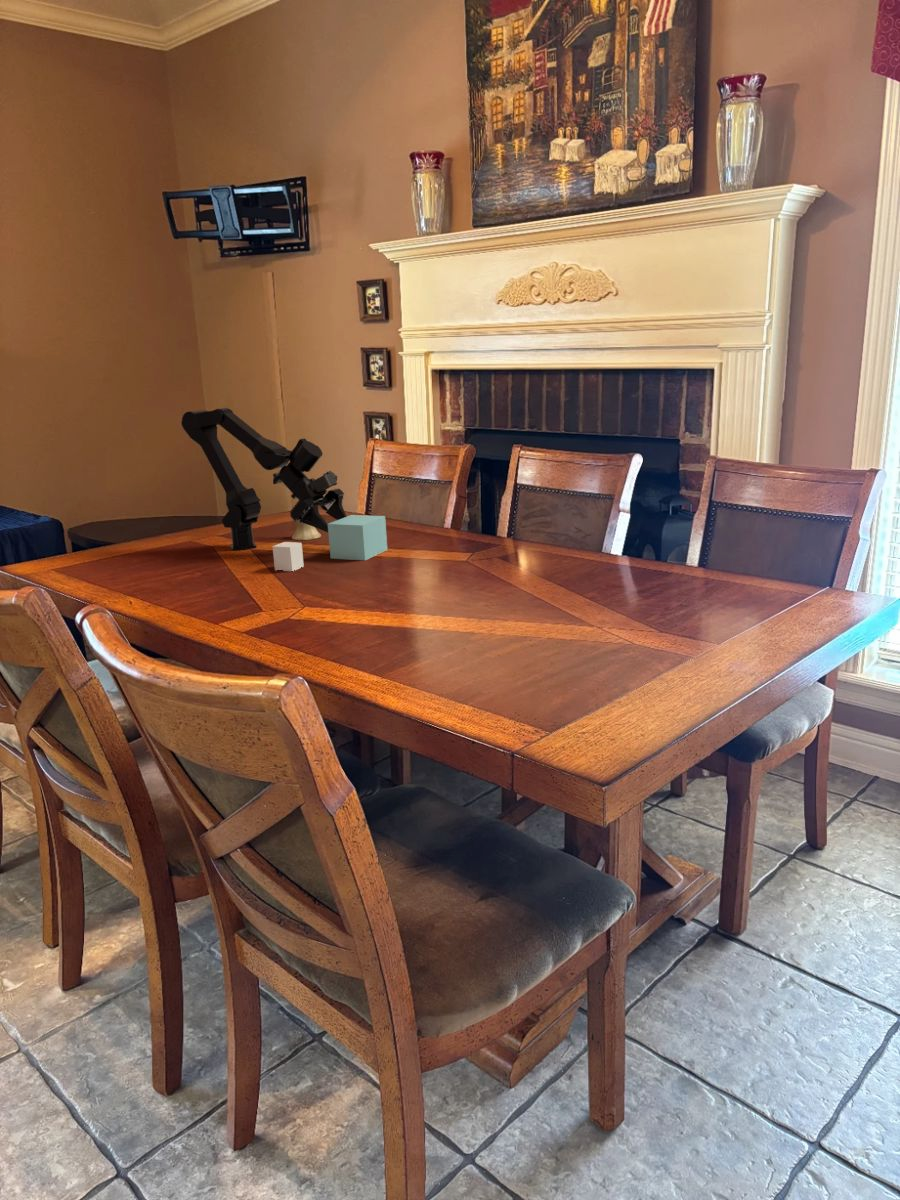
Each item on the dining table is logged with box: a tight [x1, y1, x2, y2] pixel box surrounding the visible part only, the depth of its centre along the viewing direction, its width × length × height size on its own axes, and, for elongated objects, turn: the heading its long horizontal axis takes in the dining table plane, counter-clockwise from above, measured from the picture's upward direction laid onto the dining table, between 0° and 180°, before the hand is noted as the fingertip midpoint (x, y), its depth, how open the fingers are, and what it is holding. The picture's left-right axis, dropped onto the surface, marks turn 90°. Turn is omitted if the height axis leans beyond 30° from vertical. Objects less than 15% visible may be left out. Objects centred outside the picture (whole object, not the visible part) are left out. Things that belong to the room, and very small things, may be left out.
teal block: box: [327, 514, 388, 561], centre depth 217 cm, size 10×12×9 cm
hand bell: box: [291, 520, 322, 541], centre depth 239 cm, size 8×8×16 cm
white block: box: [271, 541, 305, 572], centre depth 206 cm, size 5×5×6 cm
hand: (339, 527), depth 219 cm, fingers open, 9 cm apart
